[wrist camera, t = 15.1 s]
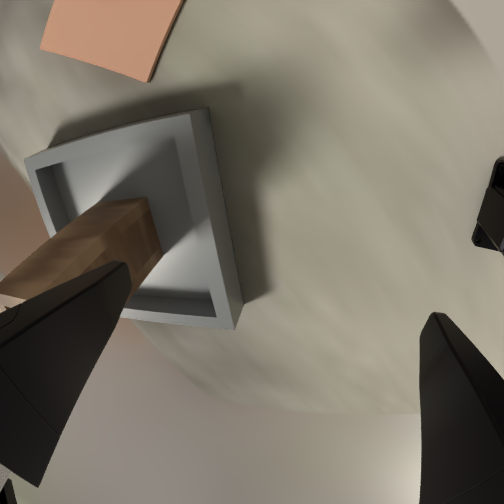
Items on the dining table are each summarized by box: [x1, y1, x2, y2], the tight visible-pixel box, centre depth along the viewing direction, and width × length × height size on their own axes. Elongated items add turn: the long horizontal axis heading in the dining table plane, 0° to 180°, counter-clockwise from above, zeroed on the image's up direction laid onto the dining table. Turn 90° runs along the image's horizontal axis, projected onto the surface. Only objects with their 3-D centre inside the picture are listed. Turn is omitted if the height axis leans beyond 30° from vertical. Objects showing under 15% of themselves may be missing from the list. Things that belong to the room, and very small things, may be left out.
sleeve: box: [0, 197, 164, 313], centre depth 19 cm, size 7×5×12 cm
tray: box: [24, 108, 244, 330], centre depth 23 cm, size 16×16×3 cm
